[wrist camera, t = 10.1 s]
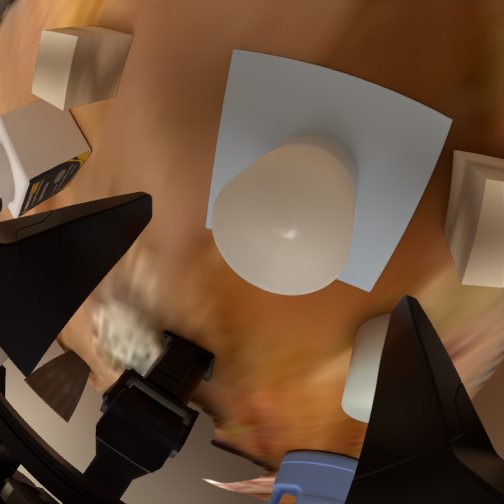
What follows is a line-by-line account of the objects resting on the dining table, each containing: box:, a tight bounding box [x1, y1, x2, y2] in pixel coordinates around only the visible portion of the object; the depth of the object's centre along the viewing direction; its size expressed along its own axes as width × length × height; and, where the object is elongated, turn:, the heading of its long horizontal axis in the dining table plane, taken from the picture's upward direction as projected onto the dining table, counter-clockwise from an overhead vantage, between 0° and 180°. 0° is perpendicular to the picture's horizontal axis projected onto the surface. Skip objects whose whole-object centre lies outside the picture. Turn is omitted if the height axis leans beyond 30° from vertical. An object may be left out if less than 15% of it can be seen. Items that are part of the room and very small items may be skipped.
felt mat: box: [206, 49, 453, 292], centre depth 15 cm, size 12×12×1 cm
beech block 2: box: [443, 150, 504, 288], centre depth 10 cm, size 5×5×5 cm
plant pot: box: [24, 351, 90, 422], centre depth 54 cm, size 15×15×16 cm
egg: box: [211, 132, 359, 295], centre depth 12 cm, size 5×5×7 cm
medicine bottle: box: [0, 100, 91, 218], centre depth 17 cm, size 7×7×12 cm
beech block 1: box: [32, 26, 134, 111], centre depth 14 cm, size 5×5×5 cm
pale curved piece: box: [342, 314, 391, 423], centre depth 18 cm, size 6×6×6 cm
